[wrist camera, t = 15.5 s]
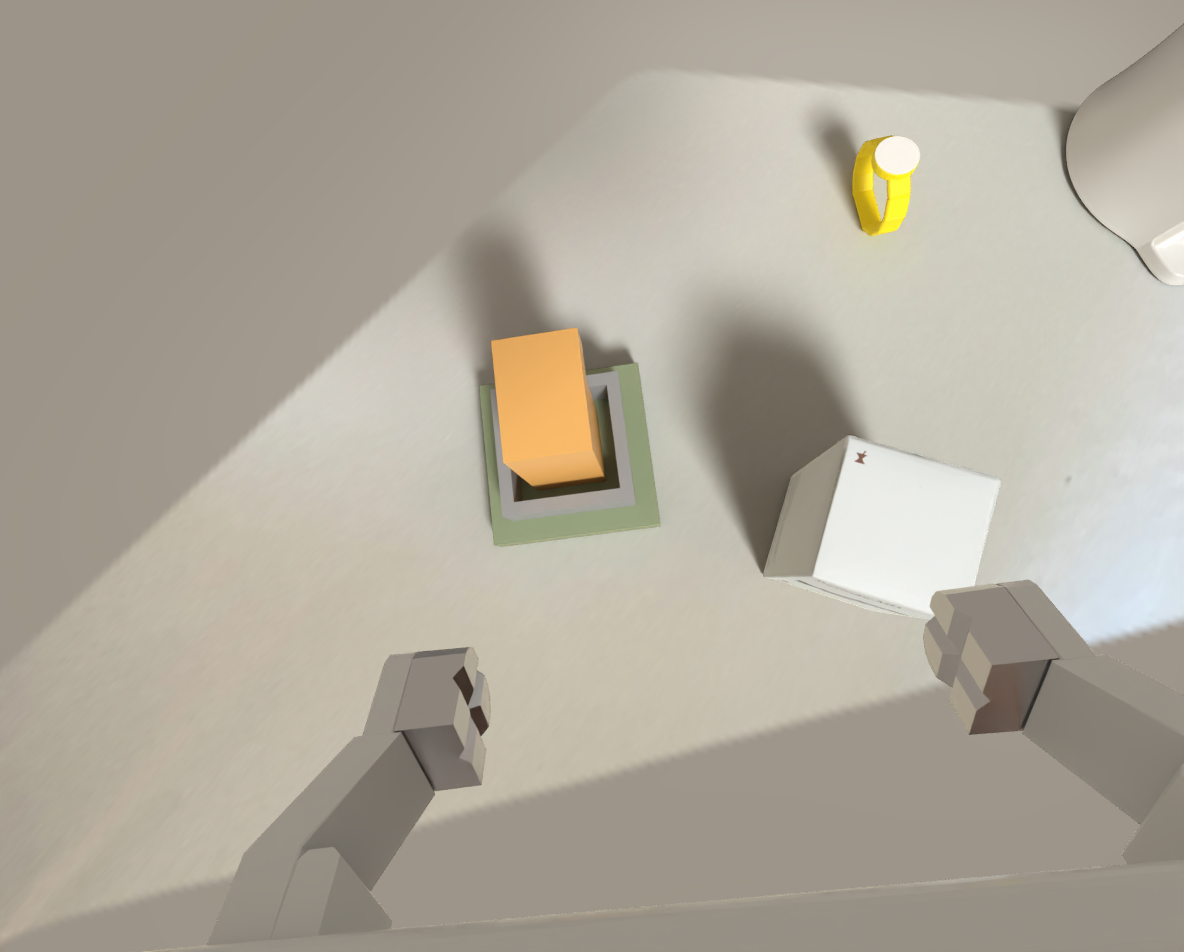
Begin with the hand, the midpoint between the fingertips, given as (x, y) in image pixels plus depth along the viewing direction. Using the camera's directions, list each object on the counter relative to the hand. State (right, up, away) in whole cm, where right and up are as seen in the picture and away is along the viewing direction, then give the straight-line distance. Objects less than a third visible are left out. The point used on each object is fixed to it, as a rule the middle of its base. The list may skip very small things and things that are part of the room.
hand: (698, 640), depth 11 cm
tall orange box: (-4, +6, +31) cm, 32 cm away
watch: (+18, +22, +34) cm, 44 cm away
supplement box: (+14, -1, +31) cm, 34 cm away
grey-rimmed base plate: (-3, +4, +33) cm, 33 cm away
